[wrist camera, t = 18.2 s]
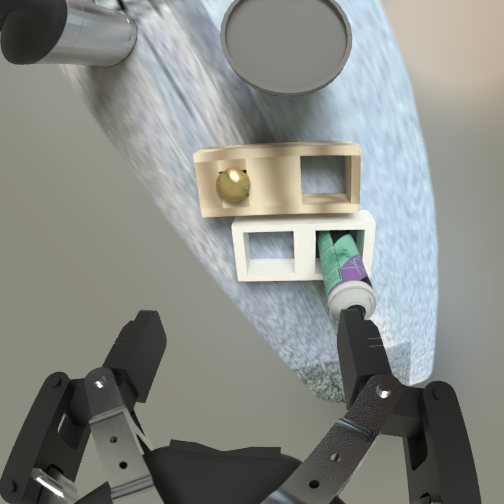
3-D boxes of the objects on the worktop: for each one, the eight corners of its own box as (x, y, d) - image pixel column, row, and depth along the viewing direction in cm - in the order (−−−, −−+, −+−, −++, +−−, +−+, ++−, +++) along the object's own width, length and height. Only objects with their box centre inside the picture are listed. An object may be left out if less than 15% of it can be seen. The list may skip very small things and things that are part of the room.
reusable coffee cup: (231, 27, 34) (204, -6, 20) (320, 11, 31) (335, -29, 18) (252, 106, 39) (234, 108, 26) (340, 92, 37) (368, 87, 23)
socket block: (210, 205, 47) (202, 217, 42) (202, 148, 43) (192, 154, 38) (352, 200, 44) (359, 212, 39) (352, 141, 40) (360, 146, 35)
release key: (225, 191, 45) (218, 203, 40) (222, 162, 43) (213, 170, 38) (255, 189, 44) (251, 201, 39) (252, 160, 42) (248, 168, 37)
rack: (242, 264, 51) (238, 281, 47) (236, 213, 47) (231, 226, 42) (363, 261, 48) (369, 278, 44) (367, 210, 44) (375, 222, 40)
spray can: (337, 259, 49) (359, 347, 31) (310, 243, 48) (319, 329, 30) (357, 232, 46) (392, 313, 28) (329, 215, 45) (352, 291, 28)
